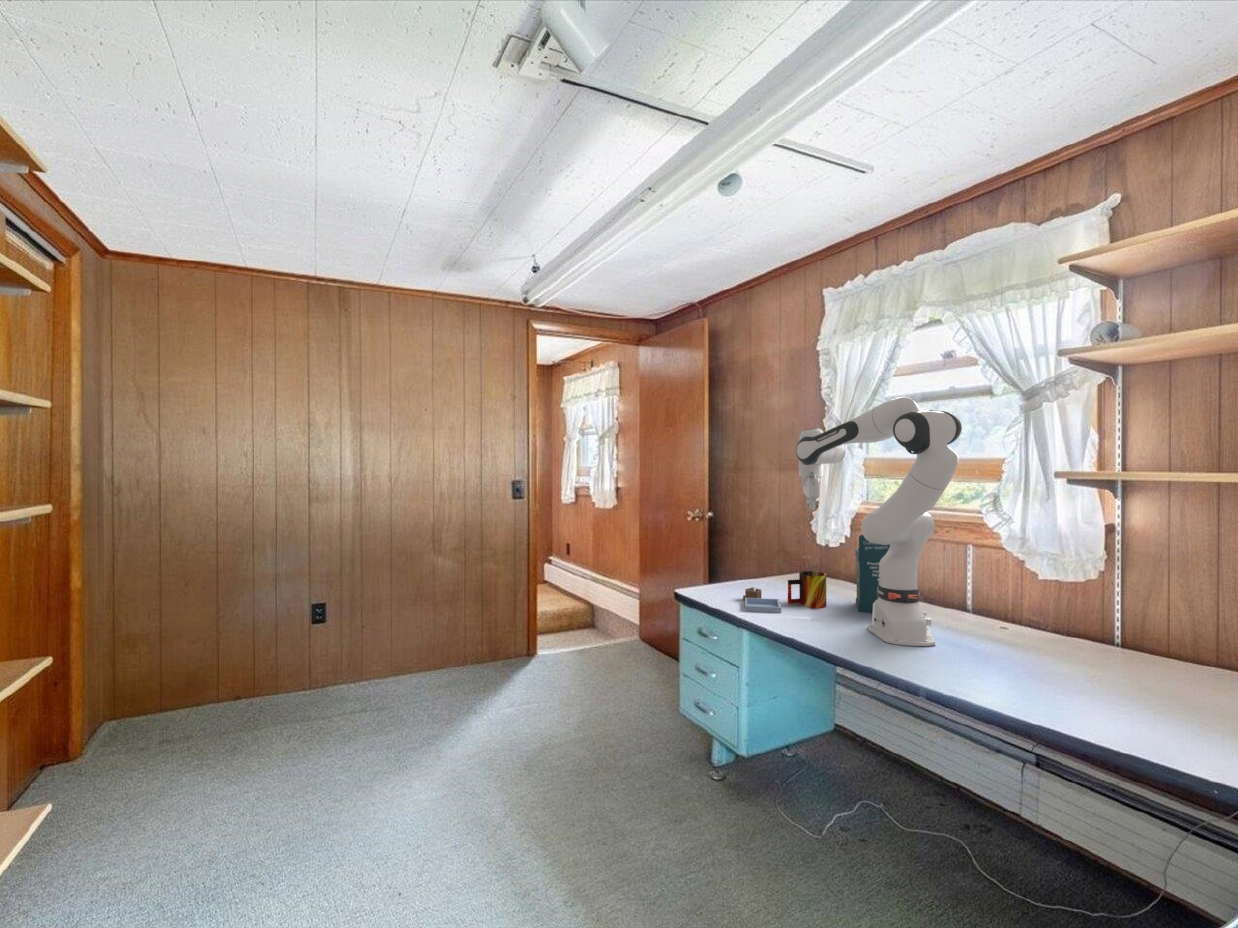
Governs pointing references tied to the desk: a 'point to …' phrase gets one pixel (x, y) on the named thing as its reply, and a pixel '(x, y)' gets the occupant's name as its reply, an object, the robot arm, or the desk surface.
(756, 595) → the ring
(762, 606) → the tray
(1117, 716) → the desk surface
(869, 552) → the donation box
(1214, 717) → the desk surface
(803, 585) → the mug
